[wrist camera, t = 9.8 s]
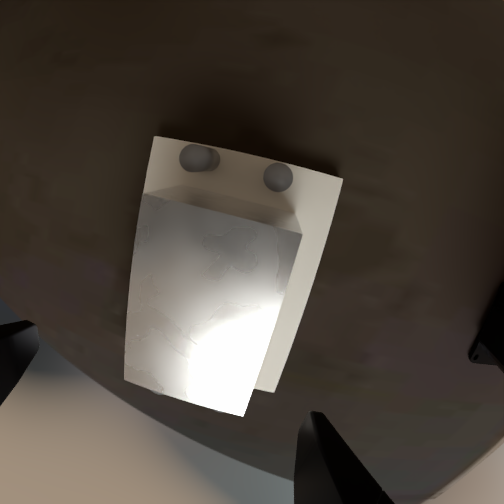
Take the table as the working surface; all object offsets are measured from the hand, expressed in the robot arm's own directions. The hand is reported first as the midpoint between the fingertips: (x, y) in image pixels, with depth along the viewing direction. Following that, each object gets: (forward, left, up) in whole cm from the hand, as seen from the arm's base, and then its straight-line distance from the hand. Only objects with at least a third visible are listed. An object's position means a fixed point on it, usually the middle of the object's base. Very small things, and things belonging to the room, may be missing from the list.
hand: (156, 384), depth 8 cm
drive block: (0, 0, -9) cm, 9 cm away
